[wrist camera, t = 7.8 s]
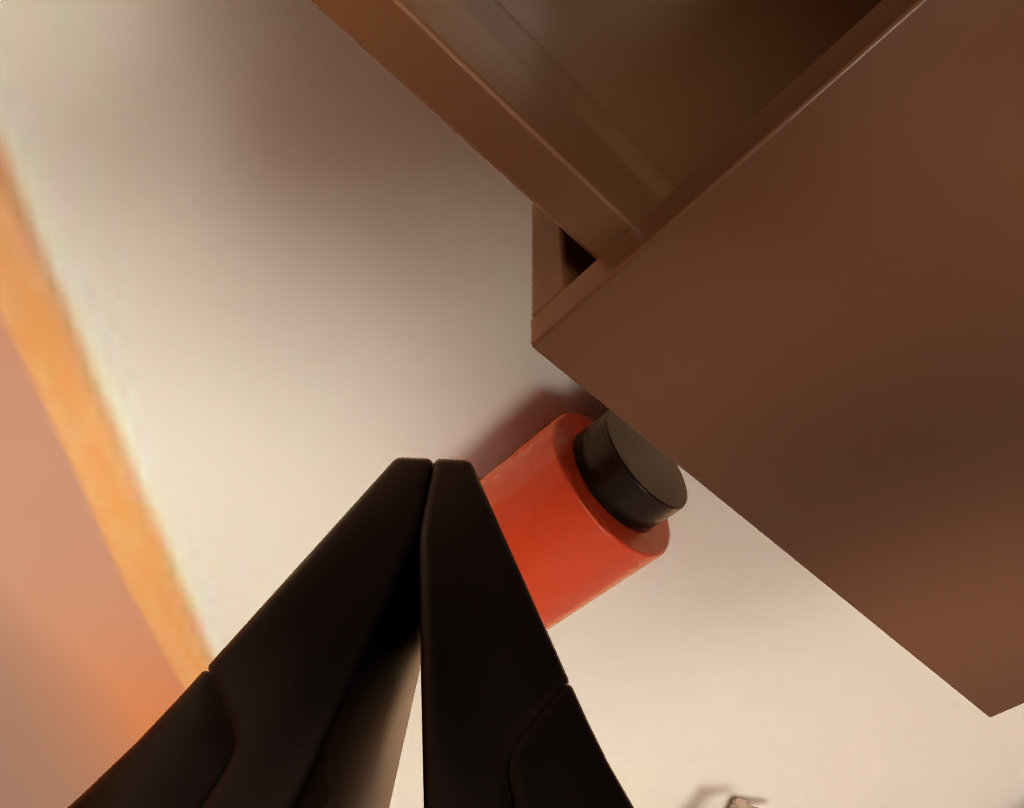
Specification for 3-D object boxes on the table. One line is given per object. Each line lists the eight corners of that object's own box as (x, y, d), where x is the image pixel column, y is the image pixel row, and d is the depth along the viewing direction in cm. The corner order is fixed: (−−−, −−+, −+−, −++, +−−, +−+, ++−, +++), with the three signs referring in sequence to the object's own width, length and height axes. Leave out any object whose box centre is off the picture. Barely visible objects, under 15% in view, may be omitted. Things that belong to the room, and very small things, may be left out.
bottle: (536, 647, 26) (445, 683, 22) (471, 522, 27) (375, 536, 24) (726, 524, 22) (657, 541, 19) (639, 389, 24) (560, 381, 20)
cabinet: (530, 149, 19) (529, 346, 12) (1059, -405, 13) (1637, -639, 6) (858, 458, 24) (989, 718, 17) (1335, 156, 19) (1812, 361, 12)
